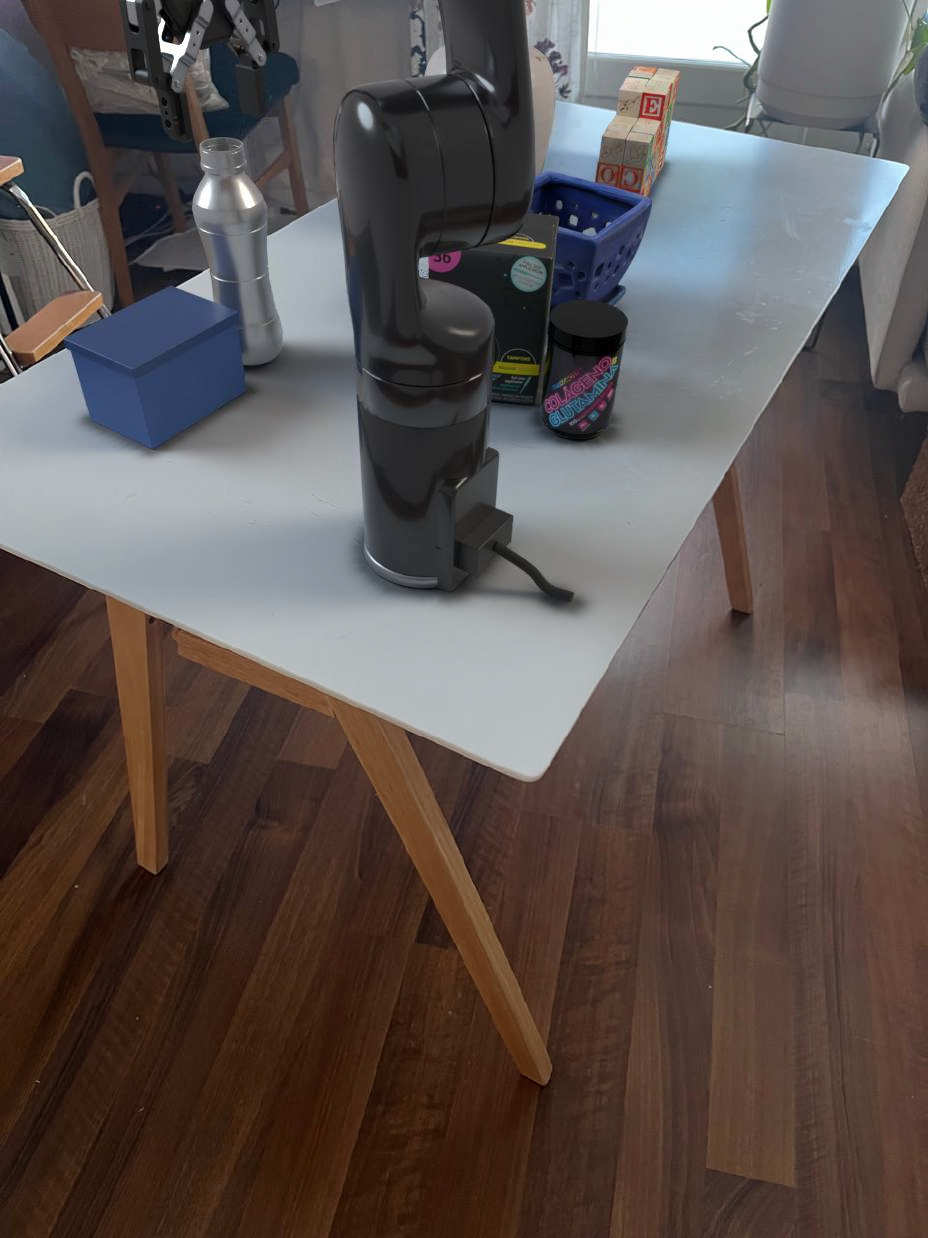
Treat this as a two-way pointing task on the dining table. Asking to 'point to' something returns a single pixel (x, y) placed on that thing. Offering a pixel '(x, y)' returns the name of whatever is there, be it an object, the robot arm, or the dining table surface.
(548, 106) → the vase
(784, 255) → the dining table surface
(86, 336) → the blue box
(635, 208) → the flower pot
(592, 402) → the supplement container
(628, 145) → the stack of blocks
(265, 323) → the silver water bottle
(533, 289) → the tampon box
